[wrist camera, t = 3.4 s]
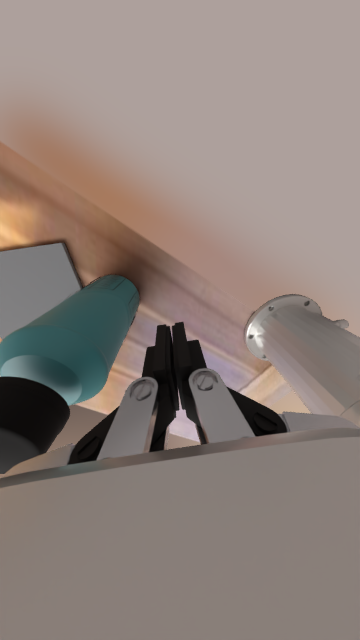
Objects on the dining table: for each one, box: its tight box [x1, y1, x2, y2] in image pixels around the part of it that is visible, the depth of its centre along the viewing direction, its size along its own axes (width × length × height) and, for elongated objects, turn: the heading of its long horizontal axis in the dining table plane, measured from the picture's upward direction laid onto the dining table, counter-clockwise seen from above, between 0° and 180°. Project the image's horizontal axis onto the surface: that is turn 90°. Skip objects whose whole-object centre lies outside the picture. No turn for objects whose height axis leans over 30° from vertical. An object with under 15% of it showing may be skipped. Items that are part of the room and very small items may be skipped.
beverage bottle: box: [0, 274, 140, 474], centre depth 15 cm, size 6×7×20 cm
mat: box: [0, 243, 83, 340], centre depth 24 cm, size 15×15×1 cm
